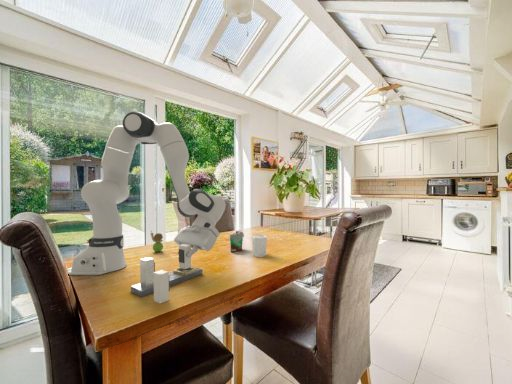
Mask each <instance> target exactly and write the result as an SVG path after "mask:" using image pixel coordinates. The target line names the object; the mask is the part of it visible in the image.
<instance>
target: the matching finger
mask: <svg viewBox="0 0 512 384" xmlns="http://www.w3.org/2000/svg"><path fill="white" fill-rule="evenodd" d="M191 249H192V248H191V245H189V244H182V245H178V252H179V254H178V263H179V264H178V268H182V269H187V268H190V267H191V266H192V257H191V258H189V257H187V256H186V254H187V252H188V251H190V250H191Z"/></svg>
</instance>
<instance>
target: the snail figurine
mask: <svg viewBox="0 0 512 384" xmlns="http://www.w3.org/2000/svg"><path fill="white" fill-rule="evenodd" d="M150 236H151V240H152V241H153V242H154V243H153V245H152V250H153V251H154V252H156V253H159V252H162V251H163V249H164V245H163V243H162V242H163V234H162V233H160V232H158V233H155V234H154V233H153V232H152V230H150Z"/></svg>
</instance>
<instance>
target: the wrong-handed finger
mask: <svg viewBox="0 0 512 384" xmlns="http://www.w3.org/2000/svg"><path fill="white" fill-rule="evenodd" d="M169 273H170V271H168V270H164V269H159V270H157V271H156V270H155V272H154V293H153V301H154V302H155V303H158V304H161V305H162V303H165V302H168V301H169V300H170V291H171V290H170V287H169Z"/></svg>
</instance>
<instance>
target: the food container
mask: <svg viewBox="0 0 512 384" xmlns="http://www.w3.org/2000/svg"><path fill="white" fill-rule="evenodd" d="M244 237H245V234H244V233H243V231H239V230H236V231H235V232H234V233H233V234H229V239H230V253H239V252H241V251H243V241H244Z"/></svg>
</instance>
